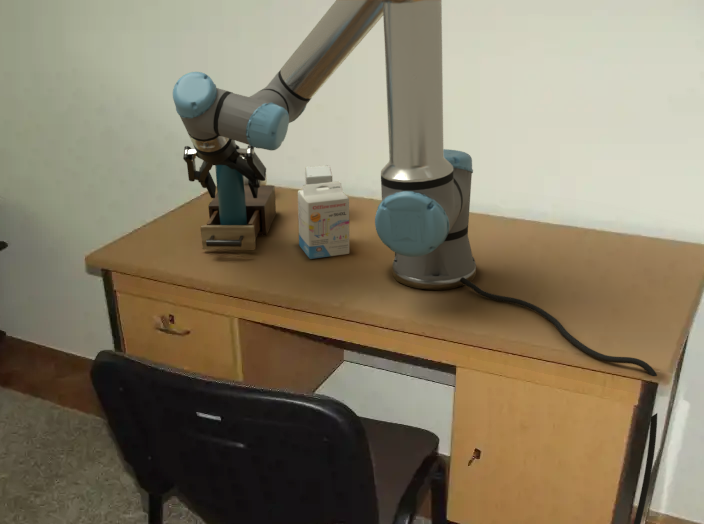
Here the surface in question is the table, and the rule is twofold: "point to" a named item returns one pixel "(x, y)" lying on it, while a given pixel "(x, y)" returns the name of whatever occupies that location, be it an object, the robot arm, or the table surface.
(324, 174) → the small box
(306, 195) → the ink box
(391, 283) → the table surface
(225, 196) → the dark teal cylinder
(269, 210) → the cabinet
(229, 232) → the drawer
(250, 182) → the robot arm
